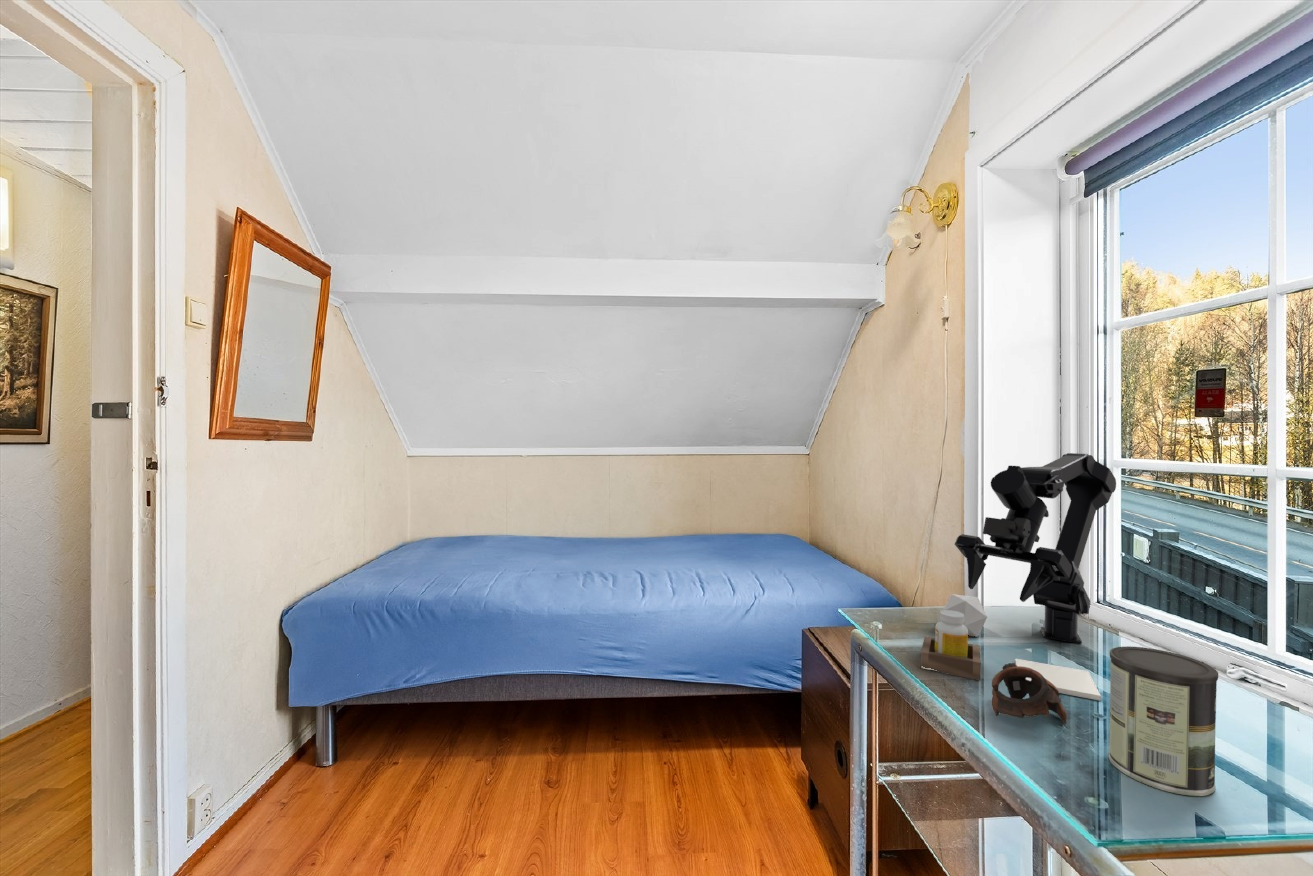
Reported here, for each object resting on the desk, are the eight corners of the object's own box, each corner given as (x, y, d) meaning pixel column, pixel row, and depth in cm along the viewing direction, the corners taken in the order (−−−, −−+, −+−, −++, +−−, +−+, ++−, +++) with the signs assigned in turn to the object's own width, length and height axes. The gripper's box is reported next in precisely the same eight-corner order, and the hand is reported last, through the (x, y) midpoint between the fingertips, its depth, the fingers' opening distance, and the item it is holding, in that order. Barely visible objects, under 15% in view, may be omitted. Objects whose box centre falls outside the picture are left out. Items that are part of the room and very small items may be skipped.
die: (987, 634, 124) (961, 592, 129) (1003, 626, 117) (975, 582, 121) (953, 647, 124) (928, 605, 128) (967, 640, 116) (940, 595, 121)
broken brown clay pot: (1087, 737, 81) (1069, 692, 80) (1020, 759, 83) (1001, 715, 81) (1038, 680, 93) (1022, 640, 91) (981, 700, 95) (963, 661, 93)
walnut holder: (924, 651, 111) (924, 636, 111) (979, 661, 107) (979, 645, 107) (920, 668, 103) (921, 652, 103) (980, 680, 99) (980, 663, 99)
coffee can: (1182, 756, 76) (1185, 650, 76) (1237, 804, 66) (1241, 683, 66) (1092, 743, 79) (1094, 641, 79) (1131, 788, 69) (1134, 671, 69)
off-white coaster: (1015, 662, 107) (1015, 658, 107) (1088, 675, 101) (1088, 671, 101) (1019, 685, 97) (1019, 680, 97) (1100, 700, 92) (1101, 695, 92)
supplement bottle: (927, 661, 107) (928, 610, 107) (949, 658, 109) (950, 607, 108) (951, 673, 102) (952, 619, 102) (974, 669, 103) (975, 616, 103)
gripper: (957, 494, 115) (928, 561, 111) (1062, 506, 100) (1033, 584, 95) (980, 525, 120) (953, 590, 115) (1083, 540, 104) (1057, 616, 100)
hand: (995, 594), depth 106 cm, fingers open, 9 cm apart
